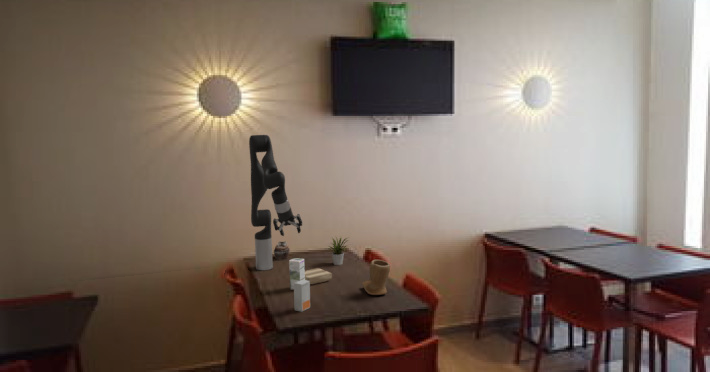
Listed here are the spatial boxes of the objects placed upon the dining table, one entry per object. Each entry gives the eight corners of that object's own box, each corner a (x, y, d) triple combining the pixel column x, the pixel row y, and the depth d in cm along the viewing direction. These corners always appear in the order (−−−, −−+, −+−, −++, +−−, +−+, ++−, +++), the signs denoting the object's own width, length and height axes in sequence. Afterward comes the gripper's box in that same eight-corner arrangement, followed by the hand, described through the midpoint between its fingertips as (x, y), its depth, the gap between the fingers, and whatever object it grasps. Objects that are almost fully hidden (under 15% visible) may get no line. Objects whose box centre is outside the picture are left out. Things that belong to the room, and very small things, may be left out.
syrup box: (305, 287, 240) (304, 258, 238) (300, 290, 234) (299, 261, 233) (295, 286, 242) (294, 257, 240) (289, 289, 236) (288, 260, 235)
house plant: (357, 262, 283) (356, 234, 281) (344, 268, 271) (343, 239, 270) (336, 259, 291) (336, 232, 289) (323, 265, 279) (322, 237, 277)
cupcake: (274, 256, 301) (273, 240, 300) (290, 255, 302) (289, 239, 301) (273, 260, 292) (272, 244, 291) (289, 259, 293) (289, 243, 292)
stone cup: (392, 295, 224) (392, 263, 223) (367, 297, 223) (366, 265, 221) (386, 285, 239) (385, 255, 238) (362, 287, 237) (361, 257, 236)
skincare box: (302, 312, 206) (301, 284, 205) (294, 310, 209) (293, 283, 207) (310, 307, 211) (309, 280, 210) (303, 306, 214) (302, 279, 212)
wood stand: (297, 280, 252) (296, 272, 251) (318, 275, 259) (318, 267, 259) (309, 286, 241) (309, 278, 241) (332, 281, 249) (331, 273, 248)
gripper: (297, 201, 250) (305, 227, 258) (270, 206, 251) (278, 232, 259) (296, 209, 243) (304, 235, 251) (268, 214, 244) (277, 240, 252)
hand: (291, 233), depth 255 cm, fingers open, 8 cm apart
